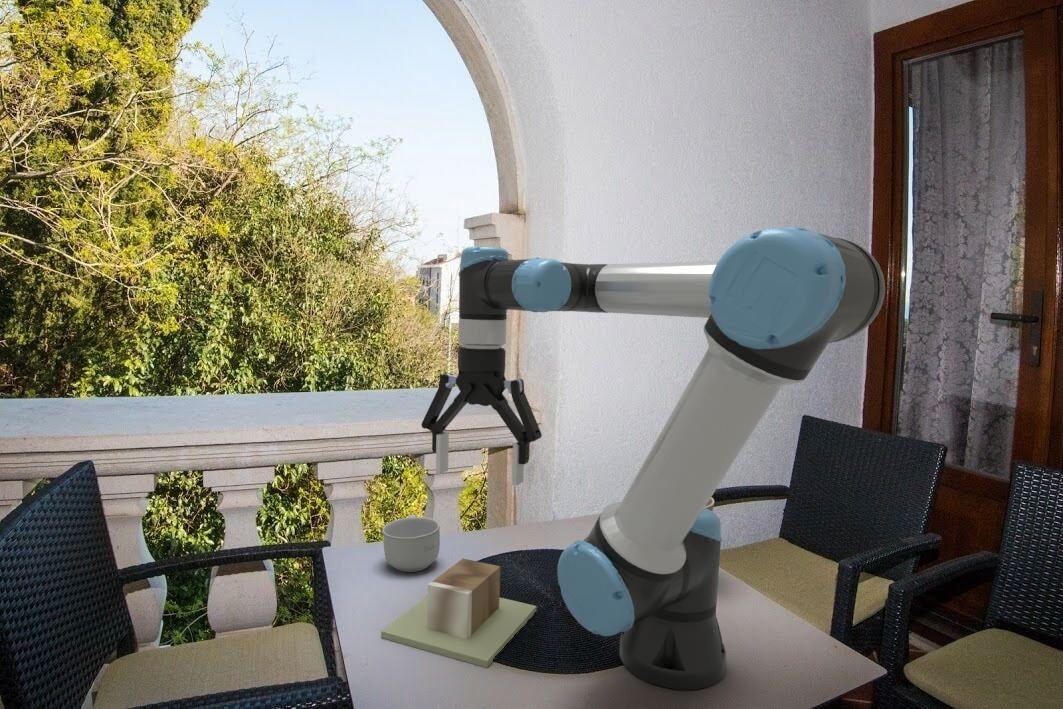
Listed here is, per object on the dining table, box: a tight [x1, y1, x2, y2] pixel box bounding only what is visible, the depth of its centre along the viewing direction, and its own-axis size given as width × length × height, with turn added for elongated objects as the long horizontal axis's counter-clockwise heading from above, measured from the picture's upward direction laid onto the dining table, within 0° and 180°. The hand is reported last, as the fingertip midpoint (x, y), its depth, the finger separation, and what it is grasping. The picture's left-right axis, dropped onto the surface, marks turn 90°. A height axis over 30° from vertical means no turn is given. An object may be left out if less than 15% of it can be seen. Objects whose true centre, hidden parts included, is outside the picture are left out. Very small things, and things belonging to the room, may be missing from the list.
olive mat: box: [380, 595, 537, 668], centre depth 102 cm, size 18×18×1 cm
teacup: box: [381, 514, 441, 573], centre depth 124 cm, size 14×11×8 cm
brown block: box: [427, 558, 501, 639], centre depth 101 cm, size 7×7×11 cm
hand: (478, 478), depth 103 cm, fingers open, 13 cm apart
